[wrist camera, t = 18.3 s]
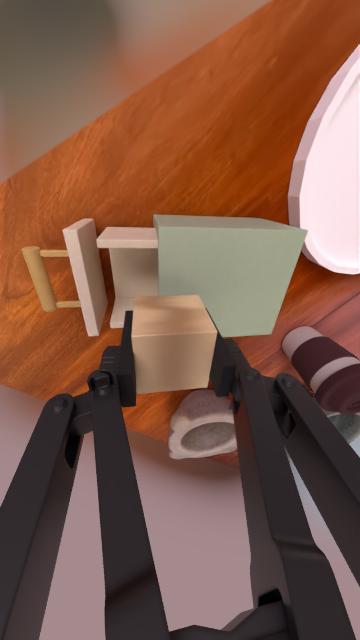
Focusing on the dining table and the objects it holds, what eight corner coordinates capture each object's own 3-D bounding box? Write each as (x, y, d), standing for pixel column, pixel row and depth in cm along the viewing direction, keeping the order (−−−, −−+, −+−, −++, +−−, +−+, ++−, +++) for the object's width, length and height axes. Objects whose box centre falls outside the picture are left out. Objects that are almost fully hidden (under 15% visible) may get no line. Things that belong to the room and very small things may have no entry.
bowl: (252, 428, 60) (270, 466, 52) (283, 379, 49) (312, 417, 41) (310, 424, 65) (335, 459, 57) (350, 379, 54) (388, 413, 46)
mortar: (162, 424, 52) (166, 465, 44) (166, 379, 43) (172, 420, 35) (224, 418, 55) (238, 455, 47) (241, 375, 46) (260, 412, 38)
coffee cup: (288, 317, 39) (357, 378, 27) (329, 321, 41) (410, 378, 29) (267, 356, 44) (316, 422, 32) (305, 357, 46) (365, 420, 34)
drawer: (62, 305, 30) (39, 339, 23) (35, 216, 23) (-6, 228, 17) (188, 301, 33) (200, 330, 26) (195, 221, 26) (212, 233, 20)
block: (138, 347, 18) (137, 394, 14) (134, 296, 15) (131, 336, 11) (193, 343, 19) (207, 387, 15) (198, 294, 16) (217, 331, 12)
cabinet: (154, 303, 33) (159, 341, 25) (153, 214, 26) (158, 226, 18) (241, 300, 35) (271, 334, 27) (260, 218, 28) (308, 230, 20)
